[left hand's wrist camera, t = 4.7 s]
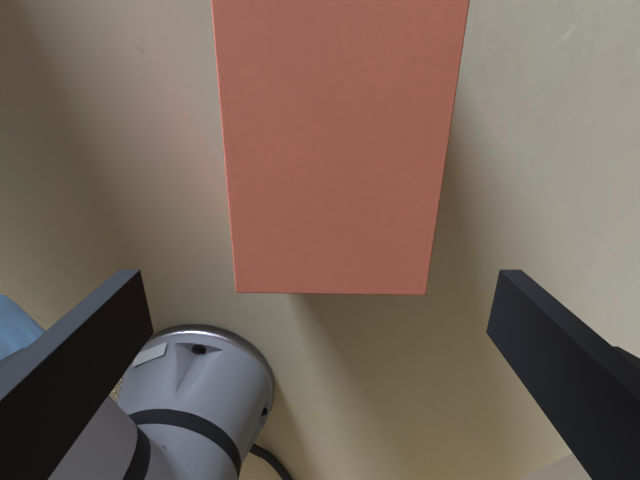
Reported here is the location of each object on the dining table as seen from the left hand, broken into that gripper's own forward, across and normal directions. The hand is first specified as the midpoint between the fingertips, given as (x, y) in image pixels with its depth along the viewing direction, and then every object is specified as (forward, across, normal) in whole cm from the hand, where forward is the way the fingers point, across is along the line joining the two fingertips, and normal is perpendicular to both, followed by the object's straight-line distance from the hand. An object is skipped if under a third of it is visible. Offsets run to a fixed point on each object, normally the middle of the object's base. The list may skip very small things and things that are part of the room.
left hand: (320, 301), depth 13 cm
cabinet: (+18, -1, -5) cm, 18 cm away
